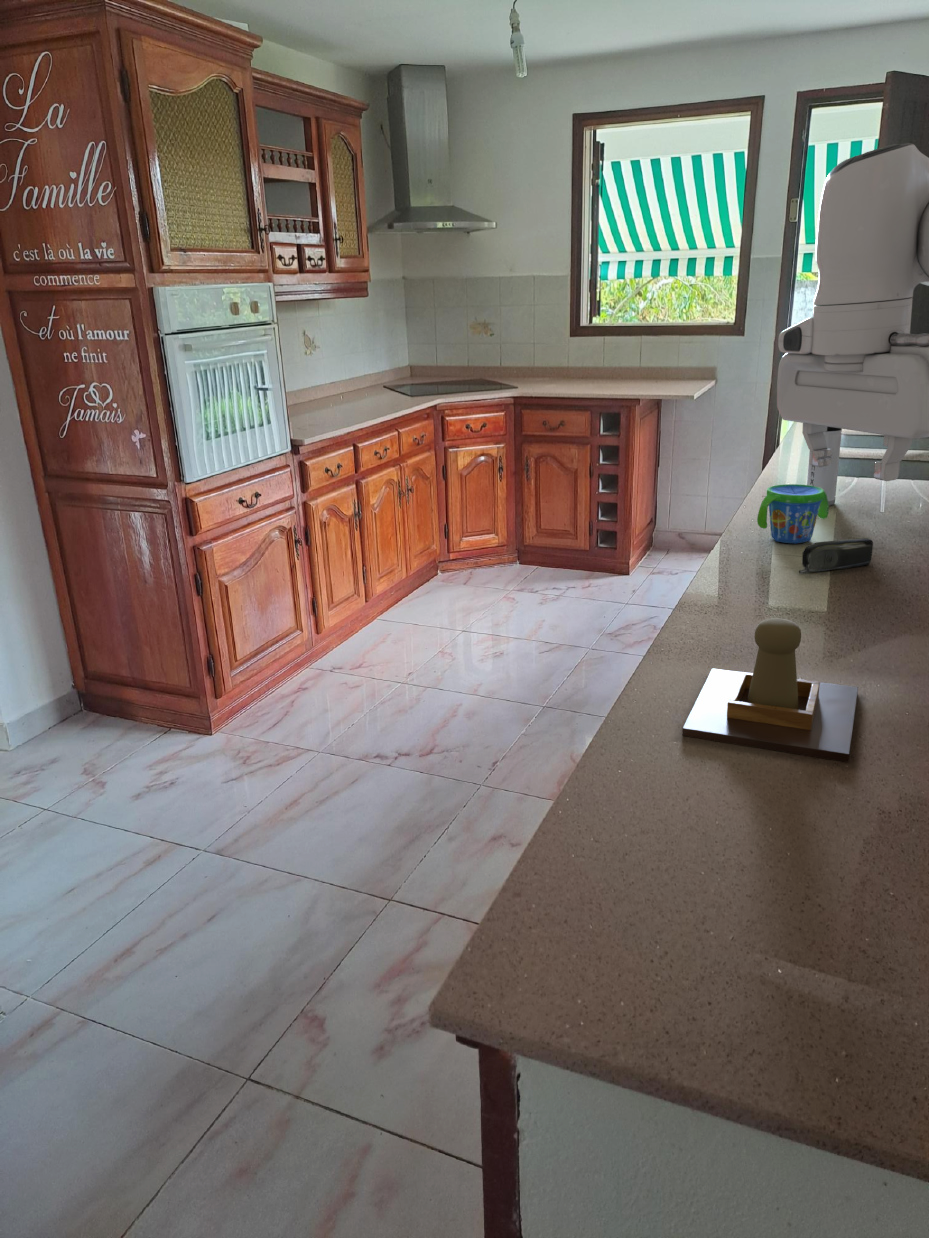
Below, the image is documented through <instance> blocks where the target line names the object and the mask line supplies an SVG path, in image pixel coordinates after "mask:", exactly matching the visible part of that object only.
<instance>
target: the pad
mask: <svg viewBox="0 0 929 1238" xmlns="http://www.w3.org/2000/svg"><path fill="white" fill-rule="evenodd" d="M752 676H753V672H747V671H736V670H728V669H720V668H711V669H710V672H709V674H708V675H707V678H706V680H705V682H704V684H703V686H702V688H701V690H700V692H699V694H698V696H697V698H696V700H695V702H694V704H693V706H692V708H691V710H690V712H689V714H688V716H687V718H686V720H685V722H684V724H683V726H682V730H681V736H683V737H688V738H689V737H690V738H696V739H701V740H707V741H713V742H721V743H725V744H732V745H739V746H746V747H751V748H756V749H757V748H758V749H763V750H764V749H765V750H769V751H777V752H781V753H782V752H783V753H789V754H795V755H801V756H808V757H813V758H820V759H826V760H833V761H838V762H844V763H849V761H850V753H851V746H852V740H853V739H852V738H853V731H854V723H855V716H856V709H857V701H858V693H859V686H854V685H845V684H838V683H830V682H822V681H817V680H811V679H801V678H797V689H798V704H799V710H797V709H790V708H782V707H775V706H768V705H761V704H754V703H747V699H748V695H749V690H750V685H751V681H752Z"/></svg>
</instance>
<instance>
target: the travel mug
mask: <svg viewBox="0 0 929 1238" xmlns="http://www.w3.org/2000/svg"><path fill="white" fill-rule="evenodd" d="M842 431H843V429H841V428H834V427H827V431H825V432H823V433H824V436H825V440H826V444H827V448H829V449H832V456H831V458H832V462H831V464H830V465H829V466H824V467H817V466H812V465H810V463H809V462H808V463H807V464H808V466H807V476H806V477H807V479H806V485H810V486H815V487H819V488H821V489H823V490H824V492H825V493H826V495H827V499H828V507H830V506H833V505H835V503H836V495H837V484H838V476H839V475H838V474H839V464H840V463H839V462H840V455H841V453H840V452H841V446H842V445H841V442H842V434H843V433H842ZM809 455H810V451H809ZM809 455H808V456H809ZM820 504H821V503H820ZM819 507H820V505H819Z"/></svg>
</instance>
